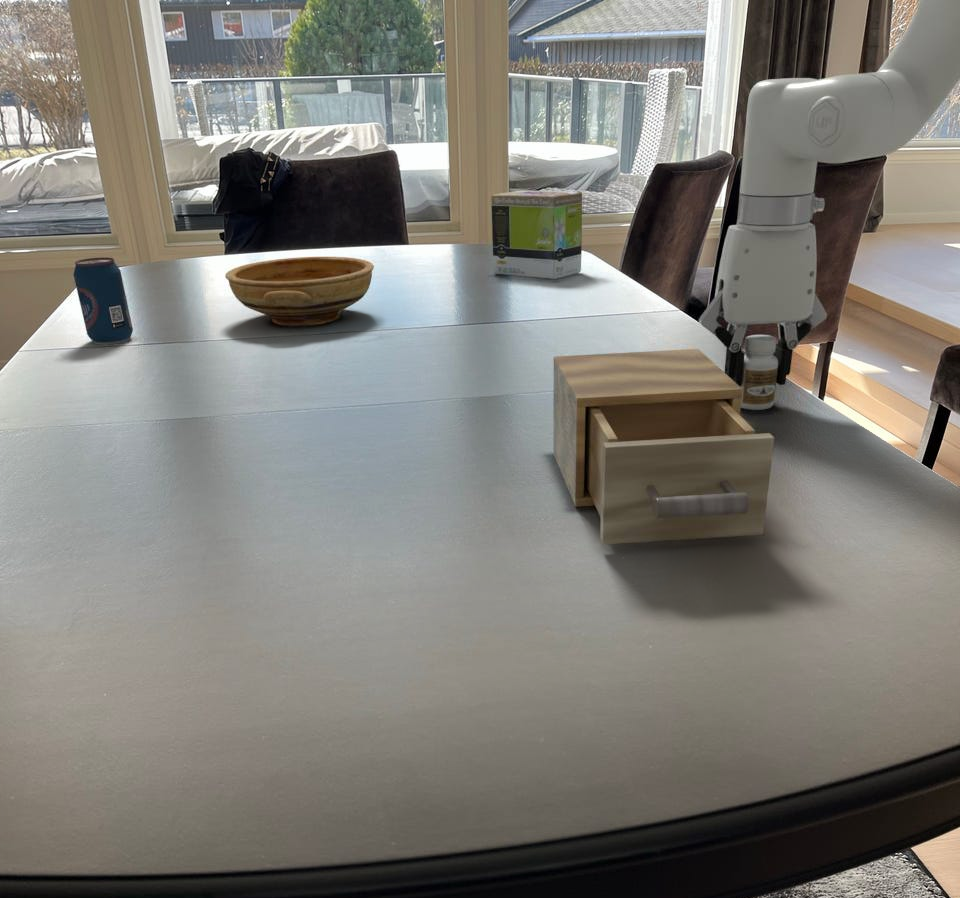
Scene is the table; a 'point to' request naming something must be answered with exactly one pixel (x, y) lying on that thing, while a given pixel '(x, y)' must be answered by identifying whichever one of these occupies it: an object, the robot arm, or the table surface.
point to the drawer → (675, 471)
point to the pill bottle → (759, 372)
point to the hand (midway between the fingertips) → (756, 381)
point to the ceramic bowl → (301, 287)
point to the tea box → (537, 233)
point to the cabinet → (625, 396)
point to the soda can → (103, 300)
